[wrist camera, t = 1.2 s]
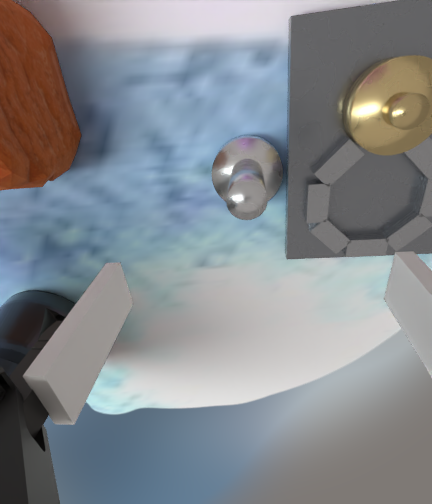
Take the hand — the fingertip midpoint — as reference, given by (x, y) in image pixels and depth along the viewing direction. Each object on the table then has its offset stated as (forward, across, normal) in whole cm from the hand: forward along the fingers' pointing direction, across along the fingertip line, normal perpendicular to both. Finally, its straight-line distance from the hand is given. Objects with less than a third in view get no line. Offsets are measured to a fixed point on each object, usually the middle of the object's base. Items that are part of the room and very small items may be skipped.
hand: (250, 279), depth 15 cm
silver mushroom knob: (+19, 0, 0) cm, 19 cm away
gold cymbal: (+17, +12, +5) cm, 21 cm away
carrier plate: (+18, +12, +1) cm, 22 cm away
